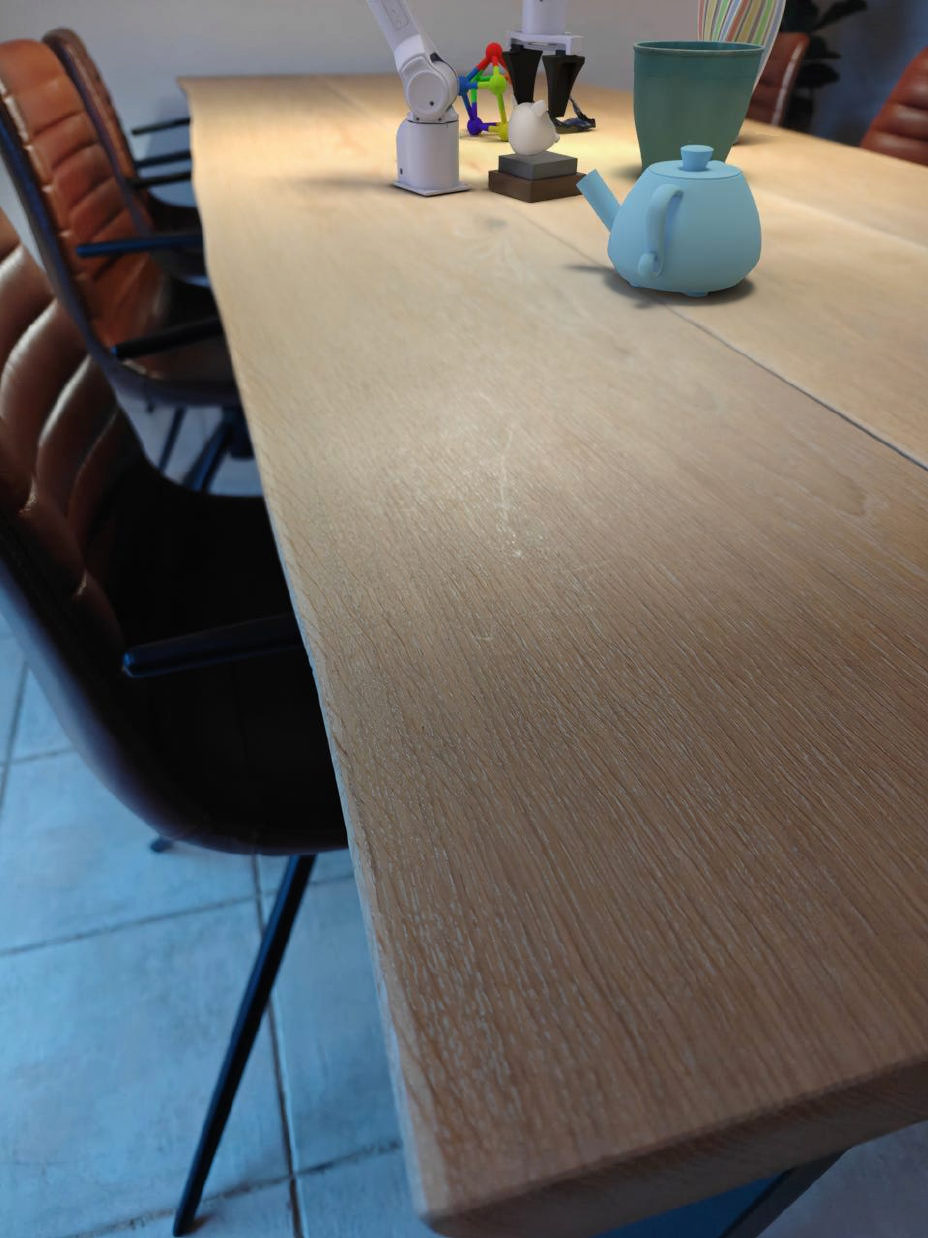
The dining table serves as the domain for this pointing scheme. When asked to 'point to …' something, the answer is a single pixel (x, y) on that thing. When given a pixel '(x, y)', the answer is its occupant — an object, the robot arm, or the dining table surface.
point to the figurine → (531, 128)
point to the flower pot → (691, 95)
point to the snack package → (575, 119)
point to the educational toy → (492, 82)
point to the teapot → (681, 224)
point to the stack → (536, 176)
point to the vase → (741, 24)
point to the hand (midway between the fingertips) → (540, 113)
